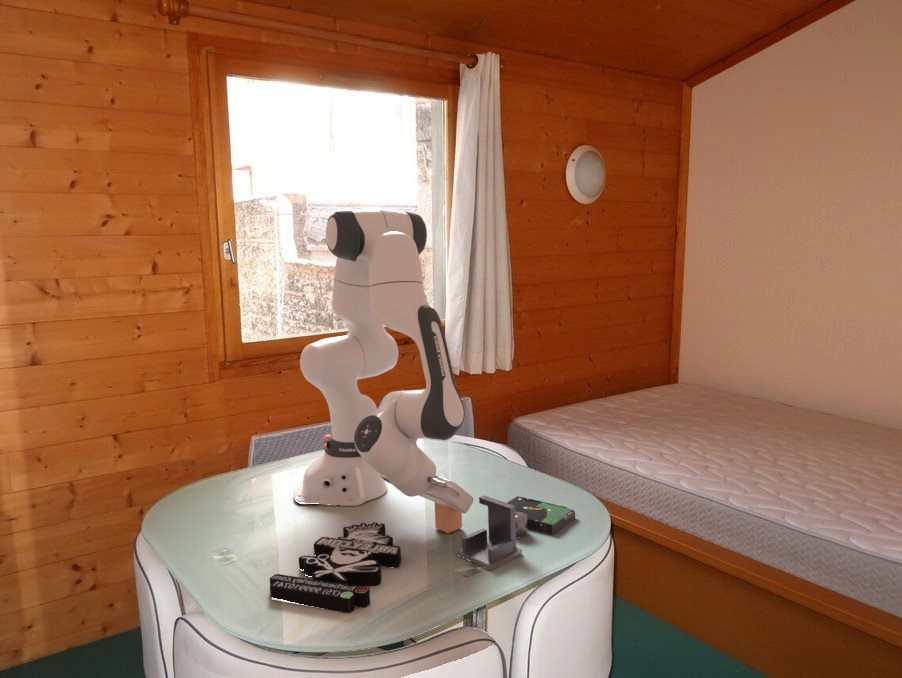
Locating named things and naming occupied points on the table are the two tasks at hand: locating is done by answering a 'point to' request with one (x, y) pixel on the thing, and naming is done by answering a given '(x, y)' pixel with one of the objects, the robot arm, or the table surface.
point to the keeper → (493, 536)
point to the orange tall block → (447, 518)
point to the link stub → (521, 524)
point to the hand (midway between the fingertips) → (450, 505)
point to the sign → (340, 569)
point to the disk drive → (543, 514)
